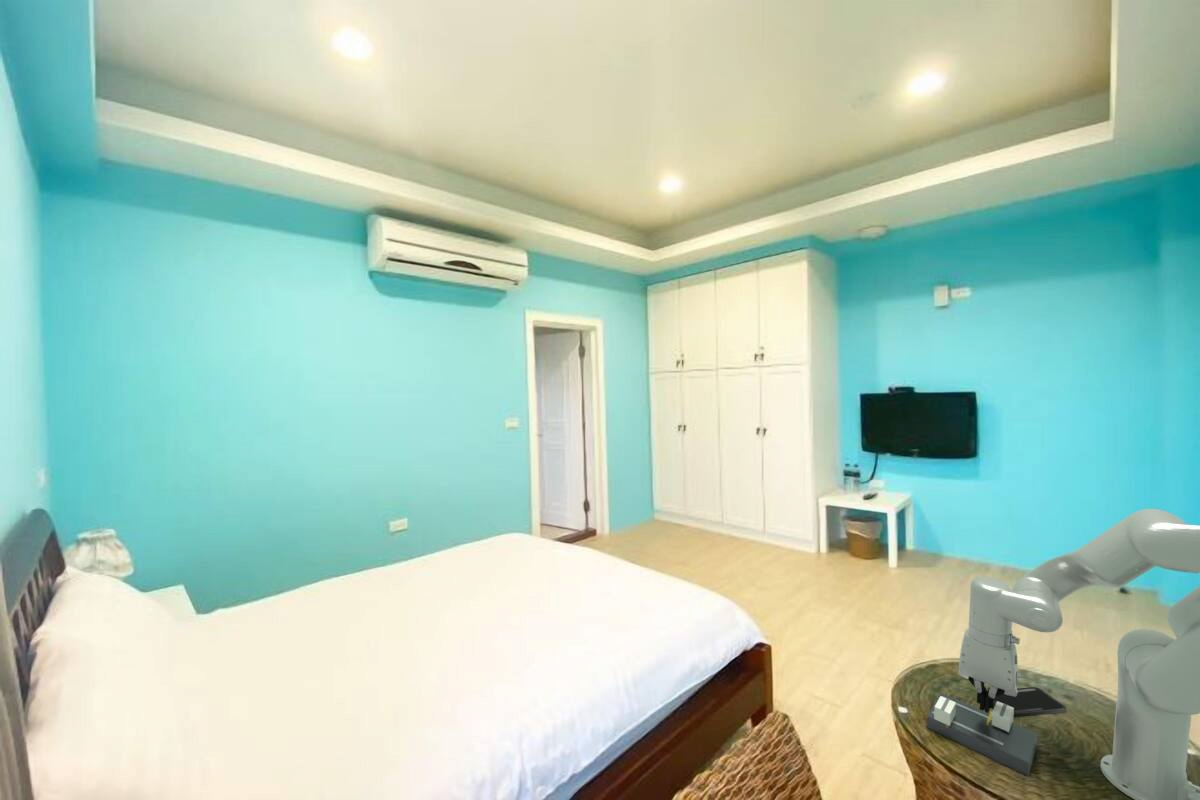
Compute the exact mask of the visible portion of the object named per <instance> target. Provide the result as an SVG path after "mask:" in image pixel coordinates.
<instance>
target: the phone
mask: <svg viewBox="0 0 1200 800" xmlns="http://www.w3.org/2000/svg"><path fill="white" fill-rule="evenodd" d="M1016 688H1017V687H1016ZM1017 692H1018V693H1017V696H1016V697H1015V696H1010V695H1006V694H1002V695H999V696H996V697H995V704H994V706H995V705H996V703H997V701H998V702H1001V703H1003V704H1006V705H1008V706H1010V707H1013V708H1014V716H1013V718H1017V717H1018V718H1019V717H1028V716H1029V717H1030V716H1039V715H1040V716H1041V715H1049V714H1058V713H1059V714H1061V713H1066V711H1067V707H1066V706H1065V705H1064V704H1062V703H1061V702H1059V701H1058V700H1057V699H1055V698H1054V697H1052V696H1051V695H1050V694H1048V693H1047V692H1045V690H1043V689H1042V688H1039V687H1036V686H1030V687H1029V686H1028V687H1019V688H1017Z"/></svg>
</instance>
